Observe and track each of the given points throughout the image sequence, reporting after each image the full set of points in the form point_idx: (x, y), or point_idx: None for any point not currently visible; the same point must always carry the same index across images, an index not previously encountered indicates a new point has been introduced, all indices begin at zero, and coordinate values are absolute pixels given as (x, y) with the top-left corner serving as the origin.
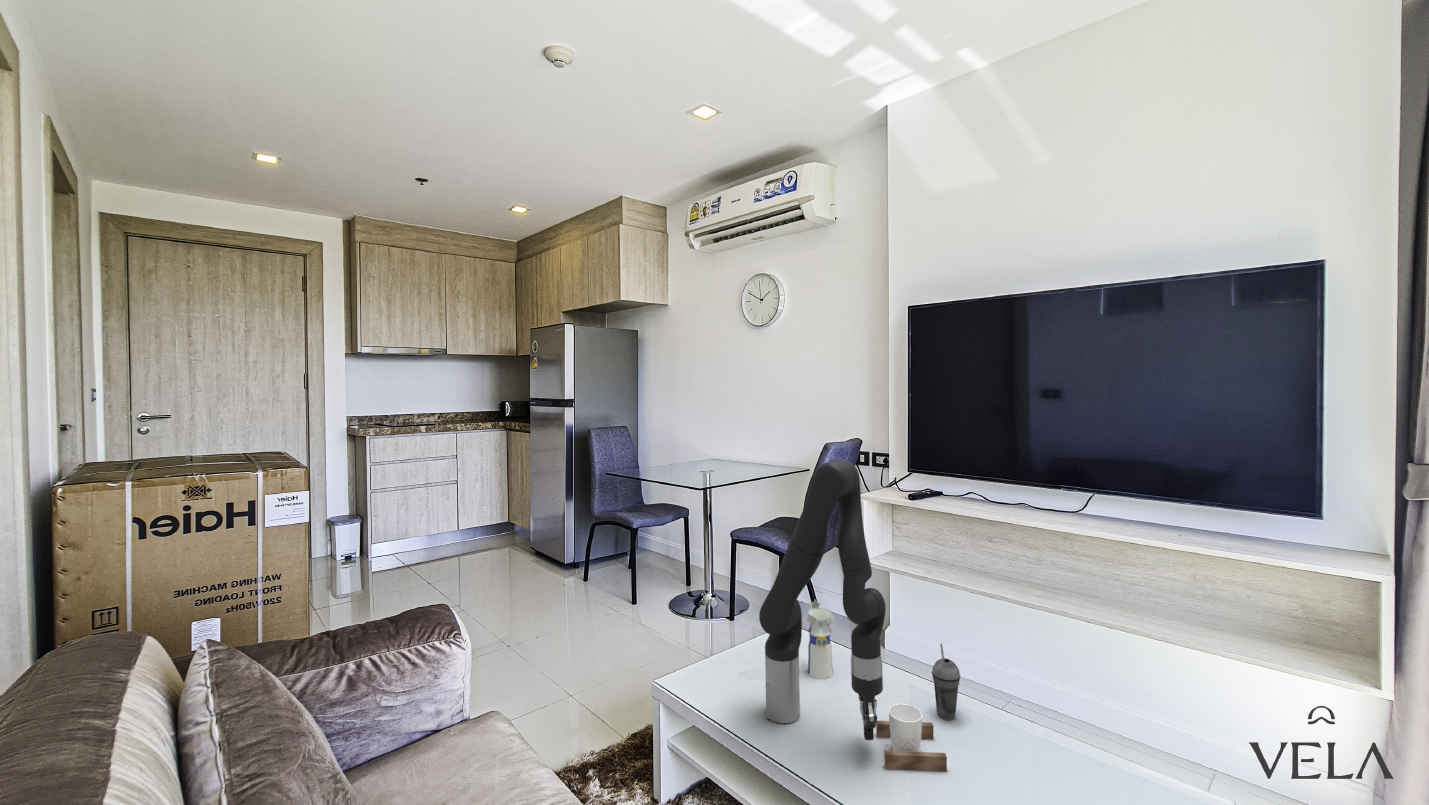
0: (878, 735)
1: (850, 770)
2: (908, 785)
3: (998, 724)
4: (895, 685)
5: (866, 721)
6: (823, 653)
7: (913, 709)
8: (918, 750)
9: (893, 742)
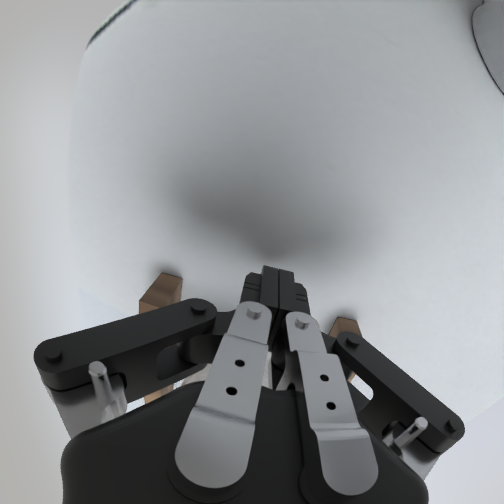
0: (337, 324)
1: (163, 141)
2: (100, 298)
3: None
4: (473, 400)
5: (80, 332)
6: None
7: None
8: None
9: None
